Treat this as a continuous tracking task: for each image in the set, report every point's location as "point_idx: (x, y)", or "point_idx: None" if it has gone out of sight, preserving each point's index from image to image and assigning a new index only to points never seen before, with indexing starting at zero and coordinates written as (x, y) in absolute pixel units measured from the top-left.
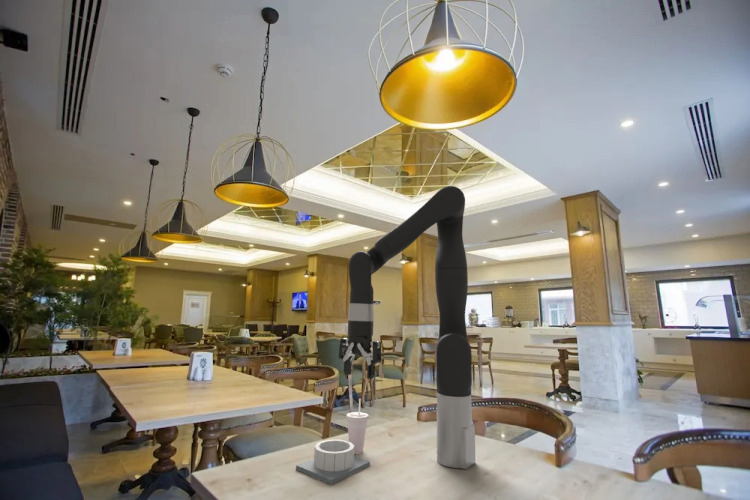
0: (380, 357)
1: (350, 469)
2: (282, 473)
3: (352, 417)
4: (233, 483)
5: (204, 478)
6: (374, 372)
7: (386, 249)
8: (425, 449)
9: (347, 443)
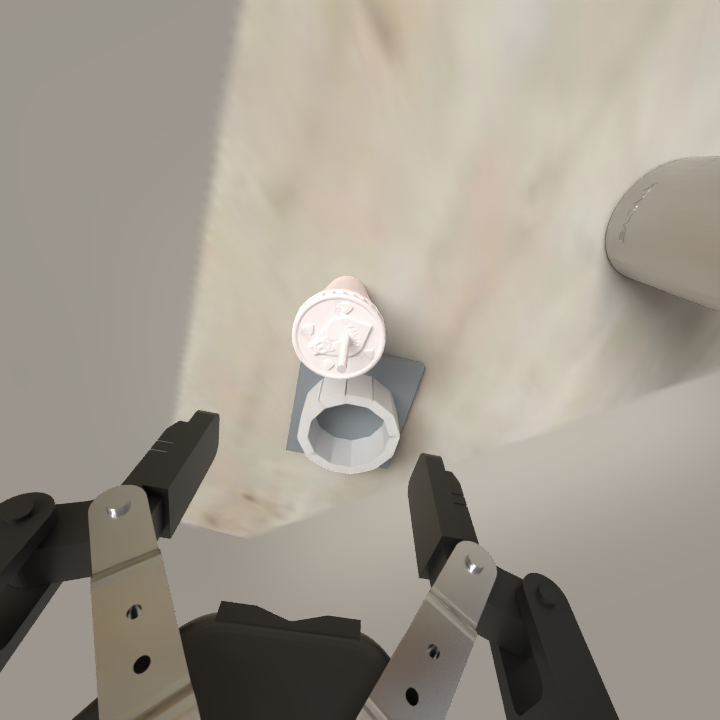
0: (575, 647)
1: (400, 421)
2: (278, 463)
3: (340, 378)
4: (241, 513)
5: (187, 519)
6: (462, 500)
7: None
8: (563, 152)
9: (366, 406)
